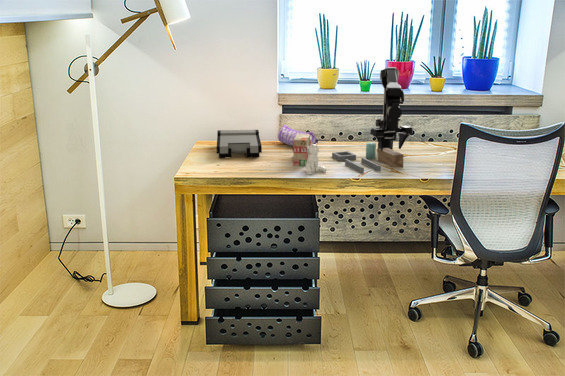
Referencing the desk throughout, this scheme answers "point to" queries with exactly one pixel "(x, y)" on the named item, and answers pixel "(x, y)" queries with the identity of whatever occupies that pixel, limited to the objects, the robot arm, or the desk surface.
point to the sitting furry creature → (314, 161)
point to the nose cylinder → (370, 150)
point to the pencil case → (292, 135)
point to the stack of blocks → (301, 149)
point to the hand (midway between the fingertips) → (390, 149)
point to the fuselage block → (390, 158)
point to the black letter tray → (238, 143)
